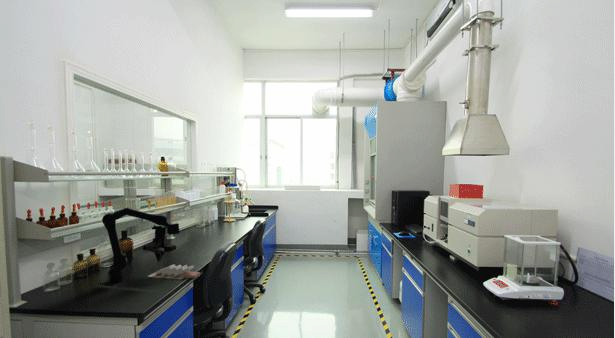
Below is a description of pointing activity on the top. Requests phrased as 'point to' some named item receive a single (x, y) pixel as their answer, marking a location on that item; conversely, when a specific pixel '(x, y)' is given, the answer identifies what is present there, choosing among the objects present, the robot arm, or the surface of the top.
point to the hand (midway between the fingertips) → (158, 261)
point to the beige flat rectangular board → (166, 276)
